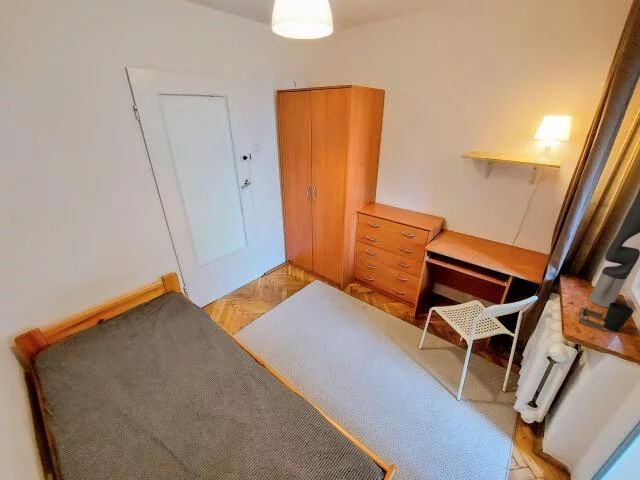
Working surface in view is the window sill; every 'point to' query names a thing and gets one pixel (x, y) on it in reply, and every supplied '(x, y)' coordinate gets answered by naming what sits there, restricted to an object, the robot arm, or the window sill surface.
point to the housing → (593, 314)
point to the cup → (617, 316)
